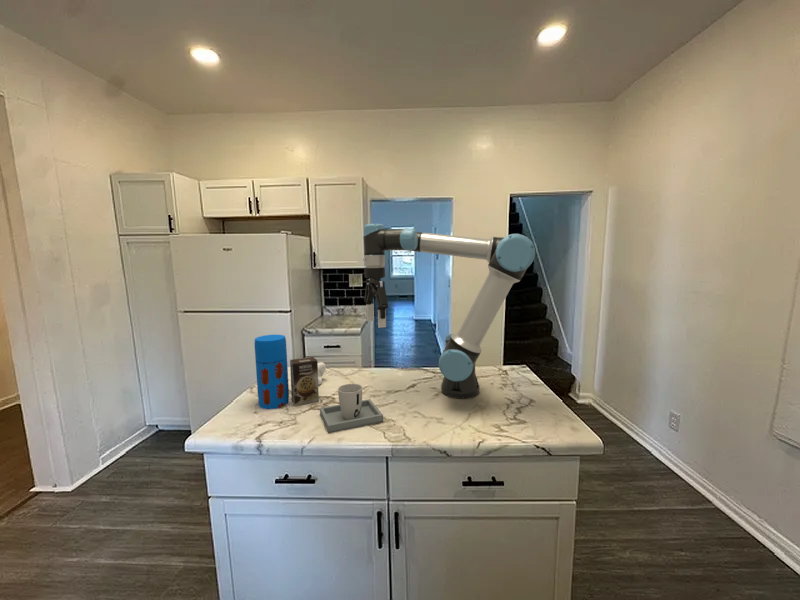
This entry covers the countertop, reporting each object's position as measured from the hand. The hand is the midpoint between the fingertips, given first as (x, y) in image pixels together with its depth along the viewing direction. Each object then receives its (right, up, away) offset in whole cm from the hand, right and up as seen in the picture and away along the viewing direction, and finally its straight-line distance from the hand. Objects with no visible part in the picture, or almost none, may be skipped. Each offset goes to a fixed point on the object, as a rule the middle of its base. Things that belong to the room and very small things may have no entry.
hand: (375, 324), depth 132 cm
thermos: (-38, -30, 0) cm, 48 cm away
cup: (-7, -30, -14) cm, 34 cm away
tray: (-7, -31, -14) cm, 34 cm away
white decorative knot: (-29, -27, +20) cm, 45 cm away
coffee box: (-27, -29, +1) cm, 40 cm away
